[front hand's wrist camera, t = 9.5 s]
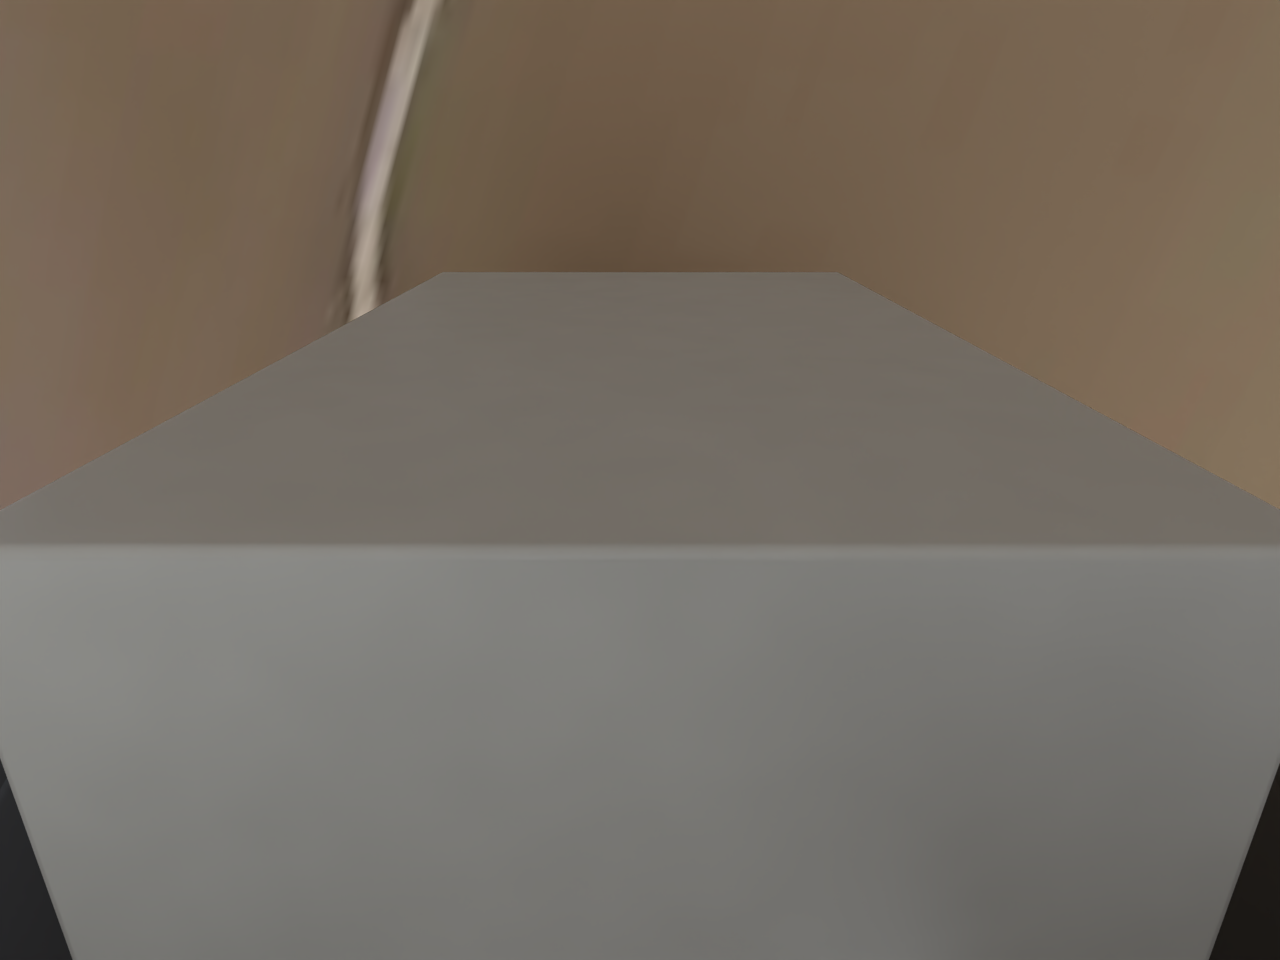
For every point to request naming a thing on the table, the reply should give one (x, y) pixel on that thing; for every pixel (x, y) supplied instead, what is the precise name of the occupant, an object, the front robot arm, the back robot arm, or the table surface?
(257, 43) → the table surface
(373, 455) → the box
